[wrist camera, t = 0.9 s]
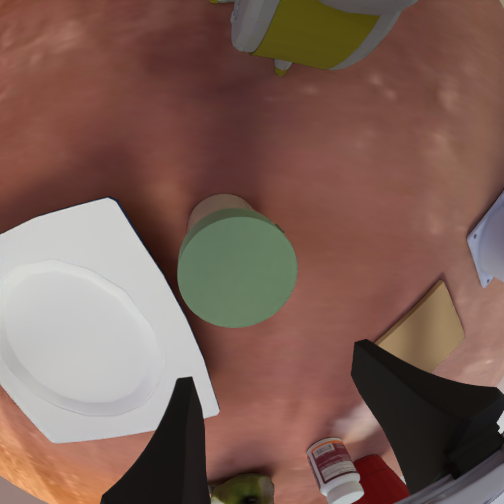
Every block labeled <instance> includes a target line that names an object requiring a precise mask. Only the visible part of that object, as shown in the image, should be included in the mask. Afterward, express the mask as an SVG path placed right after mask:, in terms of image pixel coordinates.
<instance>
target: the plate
mask: <svg viewBox="0 0 504 504" xmlns="http://www.w3.org/2000/svg"><path fill="white" fill-rule="evenodd" d="M190 376H192V377H193V381H194V384H195V387H196V390H197V394H198V397H199V400H200V403H201V406H202V412H203V419H204V418H208V417H212V416H215V415H217V414H218V413H219V412H220V407H219V404H218V401H217V398H216V395H215V392H214V389H213V386H212V383H211V380H210V377H209V373H208V370H207V367H206V364H205V360H204V357H203V354H202V352H201V350H200V347H199V345H198V343H197V340H196V338H195V336H194V333H193V331H192V328H191V326H190V324H189V321H188V319H187V316H186V314H185V313H184V311H183V309H182V307H181V305H180V303H179V301H178V300H177V298H176V296H175V294H174V292H173V290H172V288H171V286H170V284H169V282H168V280H167V279H166V277H165V275H164V273H163V271H162V270H161V268H160V267H159V265H158V264H157V262H156V261H155V259H154V257H153V256H152V254H151V253H150V251H149V250H148V248H147V247H146V245H145V243H144V242H143V240H142V239H141V237H140V236H139V234H138V232H137V231H136V229H135V227H134V226H133V224H132V223H131V221H130V219H129V218H128V216H127V214H126V213H125V211H124V209H123V208H122V206H121V204H120V203H119V201H118V200H117V199H115V198H112V197H110V196H108V197H104V198H100V199H96V200H92V201H88V202H85V203H81V204H77V205H74V206H70V207H66V208H63V209H59V210H56V211H52V212H49V213H46V214H42V215H39V216H36V217H34V218H32V219H30V220H28V221H26V222H24V223H22V224H20V225H18V226H16V227H14V228H12V229H10V230H8V231H6V232H4V233H2V234H1V235H0V385H1V386H2V387H3V388H4V390H5V391H6V392H7V393H8V394H9V396H10V397H11V398H12V399H13V400H14V402H15V403H16V404H17V405H18V406H19V408H20V409H21V410H22V411H23V412H24V413H25V415H26V416H27V417H28V418H29V419H30V420H31V421H32V422H33V423H34V425H35V426H36V427H37V428H38V429H39V430H40V431H41V432H42V433H43V434H44V435H45V436H46V437H47V438H48V439H49V440H50V441H51V442H53V443H67V442H78V441H88V440H96V439H104V438H112V437H119V436H125V435H131V434H137V433H142V432H147V431H152V430H156V429H157V427H158V425H159V423H160V421H161V419H162V417H163V415H164V413H165V410H166V408H167V406H168V403H169V401H170V398H171V395H172V392H173V389H174V386H175V383H176V380H177V379H178V378H182V377H190Z"/></svg>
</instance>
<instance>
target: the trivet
mask: <svg viewBox="0 0 504 504" xmlns="http://www.w3.org/2000/svg"><path fill="white" fill-rule="evenodd" d="M465 338H466V337H465V334H464V332H463V329H462V326H461V323H460V321H459V318H458V315H457V313H456V310H455V308H454V305H453V303H452V300H451V298H450V295H449V293H448V290H447V288H446V286H445V283H444V282H443V281H442V280H439V281H438V282H437V283H436V284H435V285H434V287H433V288H432V289H431V290H430V291H429V292H428V293H427V294H426V295H425V296H424V297H423V298H422V299H421V300H420V301H419V302H418V303H417V304H416V305H415V306H414V307H413V308H412V309H411V310H410V311H409V312H407V313H406V314H405V315H404V316H403V317H402V318H401V319H400V320H399V321H398V322H397V323H396V324H395V325H394V326H393V327H391V328H390V329H389V330H388V331H387V332H386V333H385V334H384V335H383V336H381V337H380V338H379V339H378V340H377V341H376V342H375V343H374V344H376V345H378V346H379V347H381V348H383V349H384V350H386V351H388V352H389V353H391V354H393V355H395V356H396V357H398V358H400V359H402V360H403V361H405V362H407V363H409V364H411V365H413V366H415V367H417V368H419V369H421V370H424V371H426V372H428V373H431V372H432V371H433V370H434V369H435V368H436V367H438V366H439V365H440V364H441V363H442V362H443V361H444V360H445V359H446V358H447V357H448V356H449V355H450V354H451V353H452V352H453V351H454V350H455V349H456V348H457V347H458V346H459V345H460V344H461V343H462V341H463V340H464V339H465Z"/></svg>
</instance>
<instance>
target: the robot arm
mask: <svg viewBox="0 0 504 504" xmlns="http://www.w3.org/2000/svg"><path fill="white" fill-rule="evenodd" d="M467 242H468V245H469V248H470V251H471V254H472V257H473V260H474V263H475V266H476V270H477V273H478V276H479V280H480V283H481V286H482V287H484V288H485V287H486V286H487V285H488V284H489V282H490V281H491V280H492V279H493V277H495V278H497V279H499V280H500V281H502V282H503V283H504V191H503V192H502V194H501V195H500V196H499V198H498V199H497V200H496V202H495V203H494V204H493V205H492V207H491V208H490V209H489V211H488V212H487V213H486V214H485V216H484V217H483V218H482V219H481V221H480V222H479V223H478V224H477V226H476V227H475V228H474V229H473V230H472V232H471V233H470V234H469V235H468V237H467ZM351 376H352V378H353V381H354V383H355V385H356V387H357V389H358V391H359V393H360V395H361V396H362V398H363V399H364V401H365V402H366V404H367V406H368V407H369V409H370V410H371V412H372V413H373V415H374V416H375V418H376V419H377V421H378V422H379V424H380V425H381V427H382V429H383V431H384V432H385V434H386V436H387V438H388V440H389V443H390V445H391V447H392V449H393V451H394V454H395V456H396V458H397V461H398V463H399V466H400V468H401V471H402V474H403V476H404V479H405V482H406V485H407V488H408V491H409V495H410V496H409V497H407V498H405V499H402V500H400V501H398V502H396V503H394V504H490V503H491V502H492V501H494V500H495V499H496V498H497V497H499V496H500V495H501V494H502V493H503V492H504V432H503V433H502V434H500V433H499V432H498V430H499V429H500V427H499V425H498V424H497V421H498V419H499V418H500V416H501V414H502V413H503V411H504V394H503V393H502V392H501V391H500V390H499V389H498V388H497V387H486V386H476V385H470V384H464V383H460V382H456V381H452V380H448V379H445V378H442V377H439V376H436V375H434V374H431V373H428V372H426V371H424V370H421V369H419V368H417V367H415V366H413V365H411V364H409V363H407V362H405V361H403V360H402V359H400V358H398V357H396V356H395V355H393V354H391V353H389V352H388V351H386V350H384V349H383V348H381V347H379V346H378V345H376V344H374V343H373V342H371V341H369V340H368V339H364V340H361V341H357V342H355V344H354V353H353V362H352V370H351ZM100 504H211V499H210V494H209V488H208V482H207V474H206V453H205V426H204V419H203V412H202V406H201V403H200V400H199V397H198V394H197V390H196V387H195V384H194V381H193V377H192V376H190V377H182V378H178V379H177V380H176V383H175V386H174V389H173V392H172V395H171V398H170V401H169V403H168V406H167V408H166V410H165V413H164V415H163V417H162V419H161V421H160V423H159V425H158V427H157V429H156V431H155V433H154V435H153V437H152V438H151V440H150V442H149V443H148V445H147V446H146V448H145V449H144V451H143V452H142V454H141V455H140V456H139V458H138V459H137V460H136V462H135V463H134V464H133V465H132V467H131V468H130V469H129V470H128V471H127V472H126V473H125V474H124V475H123V477H122V478H121V479H120V480H119V481H118V482H117V483H116V484H114V485H113V486H112V487H111V488H110V489H109V490H108V491H107V492H106V493H104V494H103V495H102V498H101V502H100Z"/></svg>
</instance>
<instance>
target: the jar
mask: <svg viewBox="0 0 504 504" xmlns="http://www.w3.org/2000/svg"><path fill="white" fill-rule="evenodd" d="M227 208H245V209H249V210H253V211H255V210H254V209H253V208H252V207H251V205H250V204H249V203H247V202H246V201H245V200H243V199H242V198H240V197H237V196H235V195H231V194H218V195H213V196H210V197H208V198H206V199H204V200H203V201H201V202H200V203H199V204H198V205H197V206H196V207H195V208H194V210H193V211H192V213H191V215H190V217H189V219H188V223H187V233H188V232H189V230H190V229H191V228H192V227H193V226H194V225H195V224H196V223H197V222H198V221H199V220H200V219H202V218H203V217H205V216H207V215H208V214H211V213H213V212H215V211H218V210H222V209H227ZM255 212H256V211H255Z"/></svg>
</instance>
